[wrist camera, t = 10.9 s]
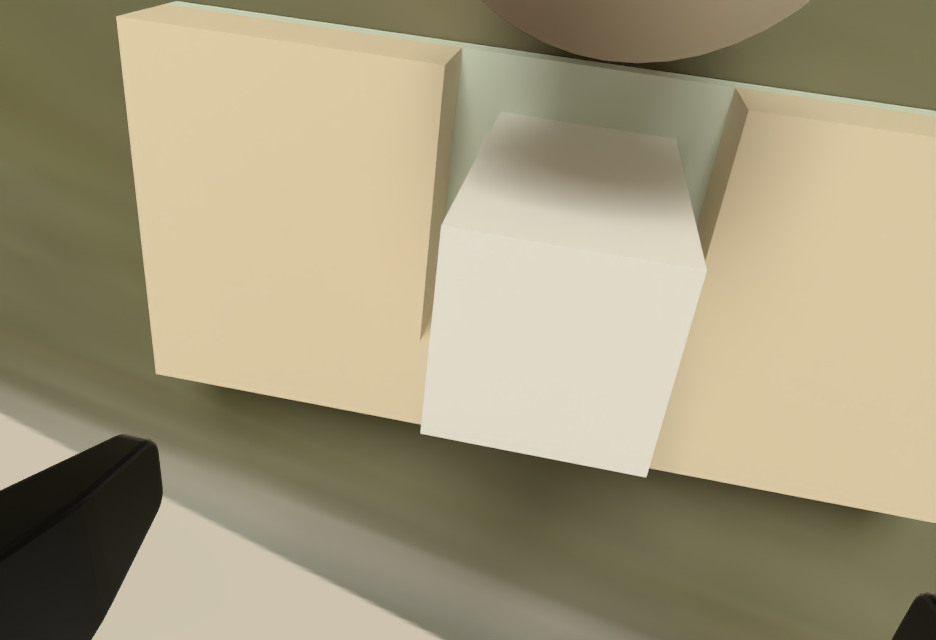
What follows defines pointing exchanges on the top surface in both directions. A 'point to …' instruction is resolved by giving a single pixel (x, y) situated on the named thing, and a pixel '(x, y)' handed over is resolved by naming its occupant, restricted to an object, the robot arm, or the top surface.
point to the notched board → (435, 188)
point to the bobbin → (643, 25)
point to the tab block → (563, 294)
